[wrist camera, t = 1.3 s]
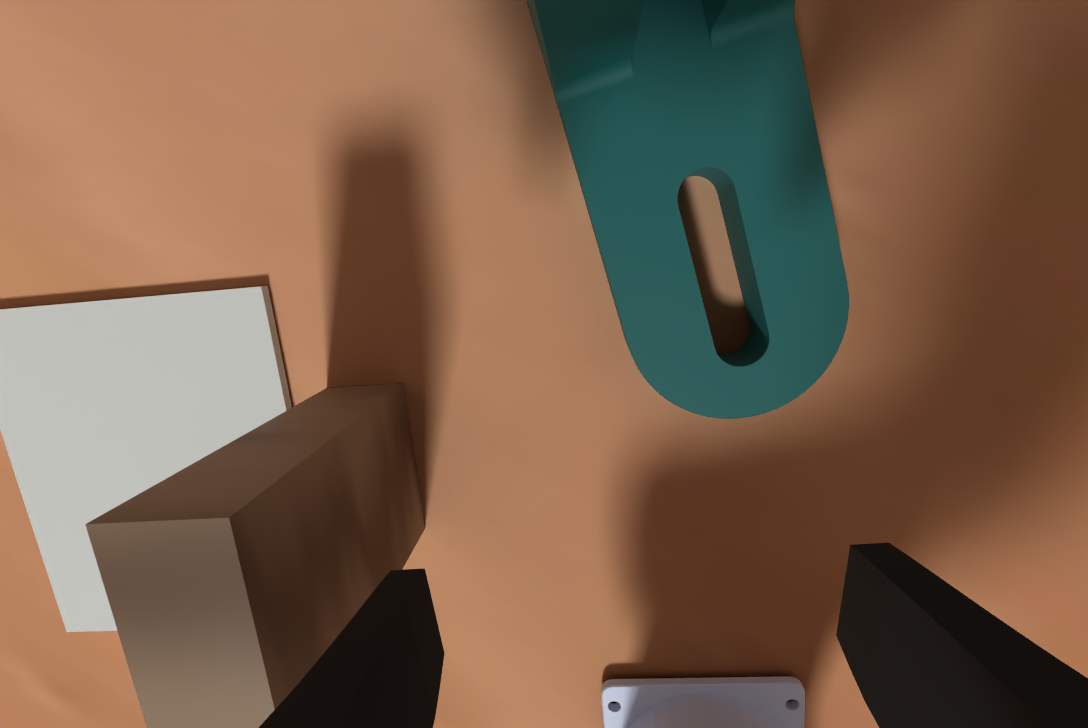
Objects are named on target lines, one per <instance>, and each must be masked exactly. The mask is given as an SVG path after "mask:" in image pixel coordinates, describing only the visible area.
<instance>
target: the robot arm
mask: <svg viewBox="0 0 1088 728" xmlns="http://www.w3.org/2000/svg"><path fill="white" fill-rule="evenodd" d="M837 638H838V640H839V643H840V645H841V647H842V650H843V652H844V655H845V657H846V659H847V662H848V664H849V667H850V669H851V671H852V674H853V676H854V678H855V680H856V682H857V685H858V687H859V689H860V691H861V694H862V696H863V698H864V700H865V702H866V704H867V706H868V708H869V710H870V711H871V713H872V715H873V717H874V719H875V720H876V722H877V724H878V726H879V728H1088V678H1086V677H1085V676H1083V675H1082V674H1080V673H1079V672H1077V671H1075V670H1074V669H1072V668H1071V667H1069V666H1068V665H1066V664H1065V663H1063V662H1062V661H1060V660H1059V659H1057V658H1056V657H1054V656H1053V655H1051V654H1050V653H1048V652H1047V651H1045V650H1044V649H1042V648H1041V647H1039V646H1038V645H1036V644H1035V643H1033V642H1032V641H1030V640H1029V639H1027V638H1026V637H1024V636H1023V635H1022V634H1020V633H1019V632H1017V631H1016V630H1014V629H1013V628H1011V627H1010V626H1008V625H1007V624H1005V623H1004V622H1003V621H1001V620H1000V619H998V618H997V617H995V616H994V615H992V614H991V613H989V612H988V611H987V610H985V609H984V608H982V607H981V606H979V605H978V604H977V603H975V602H974V601H972V600H971V599H969V598H968V597H967V596H965V595H964V594H962V593H961V592H959V591H958V590H957V589H955V588H954V587H952V586H951V585H949V584H948V583H947V582H945V581H944V580H942V579H941V578H939V577H938V576H937V575H935V574H934V573H932V572H931V571H929V570H928V569H927V568H925V567H924V566H922V565H921V564H919V563H918V562H916V561H915V560H914V559H912V558H911V557H909V556H908V555H906V554H905V553H903V552H902V551H900V550H899V549H897V548H896V547H894V546H893V545H891V544H890V543H876V544H858V545H850V551H849V557H848V564H847V570H846V577H845V583H844V590H843V596H842V603H841V609H840V615H839V622H838V628H837ZM443 659H444V650H443V646H442V641H441V637H440V633H439V628H438V624H437V620H436V615H435V611H434V607H433V602H432V598H431V594H430V589H429V585H428V581H427V576H426V572H425V569H409V570H391V571H390V572H389V573H388V574H387V575H386V576H385V577H384V579H383V580H382V581H381V582H380V584H379V585H378V586H377V587H376V589H375V590H374V591H373V592H372V594H371V595H370V596H369V597H368V599H367V600H366V601H365V602H364V604H363V605H362V606H361V607H360V609H359V610H358V611H357V612H356V614H355V615H354V616H353V617H352V619H351V620H350V621H349V622H348V624H347V625H346V626H345V627H344V629H343V630H342V631H341V632H340V634H339V635H338V636H337V637H336V638H335V640H334V641H333V642H332V643H331V645H330V646H329V647H328V648H327V649H326V651H325V652H324V653H323V654H322V655H321V656H320V658H319V659H318V660H317V661H316V662H315V664H314V665H313V666H312V667H311V668H310V670H309V671H308V672H307V673H306V674H305V676H304V677H303V678H302V679H301V680H300V682H299V683H298V684H297V685H296V686H295V687H294V689H293V690H292V691H291V692H290V693H289V694H288V695H287V697H286V698H285V699H284V700H283V701H282V702H281V703H280V704H279V705H278V707H277V708H276V709H275V710H274V711H273V712H272V713H271V714H270V715H269V717H268V718H267V719H266V720H265V721H264V722H263V723H262V724H261V725H260V726H259V728H433V724H434V720H435V714H436V708H437V701H438V695H439V688H440V681H441V674H442V666H443ZM601 699H602V711H603V724H604V728H804V723H805V690H804V688H803V685H802V683H801V682H800V681H799V680H798V679H797V678H795V677H721V678H654V679H610V680H607V681H605V682H604V683H603V684H602V687H601ZM791 699H794V700H793V701H791V702H787V701H788V700H791ZM613 701H616V702H618V703H616V704H612V703H610V702H613Z"/></svg>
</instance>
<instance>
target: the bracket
mask: <svg viewBox="0 0 1088 728" xmlns="http://www.w3.org/2000/svg"><path fill="white" fill-rule="evenodd" d="M794 2H795V0H527V3H528V6H529V10H530V13H531V17H532V20H533V24H534V27H535V30H536V34H537V37H538V41H539V44H540V48H541V51H542V55H543V58H544V61H545V65H546V68H547V72H548V75H549V79H550V82H551V86H552V89H553V92H554V96H555V99H556V103H557V106H558V110H559V113H560V117H561V120H562V123H563V127H564V130H565V134H566V137H567V141H568V144H569V148H570V151H571V155H572V158H573V161H574V165H575V168H576V172H577V175H578V179H579V182H580V186H581V189H582V192H583V196H584V199H585V203H586V206H587V210H588V213H589V217H590V220H591V223H592V227H593V230H594V234H595V237H596V241H597V244H598V248H599V251H600V254H601V258H602V261H603V265H604V268H605V272H606V275H607V279H608V282H609V285H610V289H611V292H612V296H613V299H614V303H615V306H616V310H617V313H618V317H619V320H620V323H621V327H622V330H623V334H624V337H625V340H626V343H627V345H628V348H629V350H630V352H631V355H632V357H633V359H634V361H635V363H636V365H637V367H638V369H639V370H640V372H641V374H642V375H643V377H644V378H645V379H646V380H647V382H648V383H649V384H650V385H651V386H652V387H653V388H654V389H655V390H656V391H657V392H658V393H659V394H660V395H662V396H663V397H664V398H665V399H667V400H668V401H670V402H672V403H673V404H675V405H676V406H678V407H680V408H683V409H685V410H687V411H690V412H692V413H695V414H699V415H703V416H707V417H713V418H724V419H735V418H745V417H751V416H756V415H760V414H764V413H767V412H769V411H772V410H775V409H777V408H779V407H781V406H783V405H785V404H787V403H789V402H790V401H792V400H794V399H795V398H797V397H798V396H800V395H801V394H802V393H804V392H805V391H806V390H807V389H808V388H809V387H811V386H812V385H813V384H814V383H815V382H816V381H817V380H818V379H819V377H820V376H821V375H822V374H823V373H824V372H825V370H826V369H827V367H828V366H829V365H830V363H831V361H832V360H833V358H834V356H835V355H836V353H837V351H838V348H839V346H840V344H841V342H842V339H843V335H844V332H845V329H846V324H847V319H848V310H849V293H848V286H847V280H846V275H845V270H844V265H843V260H842V255H841V250H840V245H839V240H838V235H837V230H836V225H835V220H834V215H833V210H832V205H831V200H830V195H829V190H828V185H827V180H826V175H825V170H824V165H823V160H822V155H821V150H820V146H819V141H818V136H817V131H816V126H815V121H814V116H813V111H812V106H811V101H810V96H809V91H808V86H807V81H806V76H805V71H804V66H803V61H802V56H801V51H800V46H799V41H798V36H797V31H796V26H795V21H794ZM688 176H701V177H704V178H706V179H708V180H709V181H710V182H711V183H712V184H713V185H714V186H715V188H716V190H717V193H718V197H719V201H720V205H721V209H722V213H723V217H724V222H725V226H726V230H727V234H728V238H729V242H730V246H731V251H732V255H733V259H734V263H735V267H736V271H737V275H738V280H739V284H740V288H741V292H742V296H743V300H744V304H745V309H746V313H747V317H748V321H749V327H750V330H749V335H748V338H747V340H746V341H745V343H744V344H743V345H742V346H741V347H740V348H739V349H737V350H736V351H733V352H730V353H724V354H722V353H716V350H715V347H714V343H713V339H712V335H711V332H710V328H709V324H708V320H707V316H706V312H705V308H704V304H703V300H702V296H701V293H700V289H699V285H698V281H697V277H696V273H695V269H694V265H693V261H692V258H691V254H690V250H689V246H688V242H687V238H686V234H685V230H684V226H683V222H682V219H681V215H680V211H679V207H678V201H677V197H678V191H679V188H680V186H681V184H682V182H683V180H684V179H685V178H686V177H688Z"/></svg>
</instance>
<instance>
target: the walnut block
mask: <svg viewBox="0 0 1088 728" xmlns="http://www.w3.org/2000/svg"><path fill="white" fill-rule="evenodd" d="M85 525H86V528H87V532H88V535H89V538H90V542H91V545H92V548H93V551H94V555H95V558H96V561H97V565H98V568H99V571H100V575H101V578H102V581H103V584H104V588H105V591H106V594H107V598H108V601H109V604H110V607H111V611H112V614H113V617H114V621H115V624H116V627H117V630H118V634H119V637H120V640H121V644H122V647H123V650H124V654H125V657H126V660H127V663H128V667H129V670H130V673H131V677H132V680H133V683H134V686H135V690H136V693H137V696H138V700H139V703H140V706H141V710H142V713H143V716H144V719H145V723H146V726H147V728H259V726H260V725H261V724H262V723H263V722H264V721H265V720H266V719H267V718H268V717H269V715H270V714H271V713H272V712H273V711H274V710H275V709H276V708H277V707H278V705H279V704H280V703H281V702H282V701H283V700H284V699H285V698H286V697H287V695H288V694H289V693H290V692H291V691H292V690H293V689H294V687H295V686H296V685H297V684H298V683H299V682H300V680H301V679H302V678H303V677H304V676H305V674H306V673H307V672H308V671H309V670H310V668H311V667H312V666H313V665H314V664H315V662H316V661H317V660H318V659H319V658H320V656H321V655H322V654H323V653H324V652H325V651H326V649H327V648H328V647H329V646H330V645H331V643H332V642H333V641H334V640H335V638H336V637H337V636H338V635H339V634H340V632H341V631H342V630H343V629H344V627H345V626H346V625H347V624H348V622H349V621H350V620H351V619H352V617H353V616H354V615H355V614H356V612H357V611H358V610H359V609H360V607H361V606H362V605H363V604H364V602H365V601H366V600H367V599H368V597H369V596H370V595H371V594H372V592H373V591H374V590H375V589H376V587H377V586H378V585H379V584H380V582H381V581H382V580H383V579H384V577H385V576H386V575H387V574H388V573H389V572H390V571H391V570H402V569H403V567H404V565H405V563H406V561H407V560H408V558H409V556H410V554H411V552H412V551H413V549H414V547H415V545H416V544H417V542H418V540H419V538H420V536H421V535H422V533H423V531H424V529H425V523H424V516H423V510H422V503H421V496H420V490H419V483H418V477H417V470H416V463H415V457H414V450H413V443H412V437H411V430H410V424H409V417H408V410H407V404H406V397H405V390H404V384H403V383H394V384H379V385H365V386H350V387H335V388H326V389H324V390H323V391H321V392H319V393H317V394H315V395H314V396H312V397H310V398H308V399H307V400H305V401H303V402H301V403H299V404H298V405H296V406H294V407H292V408H291V409H289V410H287V411H285V412H284V413H282V414H280V415H278V416H276V417H275V418H273V419H271V420H269V421H268V422H266V423H264V424H262V425H260V426H259V427H257V428H255V429H253V430H252V431H250V432H248V433H246V434H244V435H243V436H241V437H239V438H237V439H236V440H234V441H232V442H230V443H229V444H227V445H225V446H223V447H221V448H220V449H218V450H216V451H214V452H213V453H211V454H209V455H207V456H205V457H204V458H202V459H200V460H198V461H197V462H195V463H193V464H191V465H189V466H188V467H186V468H184V469H182V470H181V471H179V472H177V473H175V474H174V475H172V476H170V477H168V478H166V479H165V480H163V481H161V482H159V483H158V484H156V485H154V486H152V487H150V488H149V489H147V490H145V491H143V492H142V493H140V494H138V495H136V496H134V497H133V498H131V499H129V500H127V501H126V502H124V503H122V504H120V505H119V506H117V507H115V508H113V509H111V510H110V511H108V512H106V513H104V514H103V515H101V516H99V517H97V518H95V519H94V520H92V521H90V522H88V523H87V524H85Z"/></svg>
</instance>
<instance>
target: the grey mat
mask: <svg viewBox="0 0 1088 728" xmlns="http://www.w3.org/2000/svg"><path fill="white" fill-rule="evenodd" d="M291 408H292V405H291V400H290V395H289V390H288V385H287V380H286V375H285V370H284V365H283V360H282V355H281V350H280V345H279V340H278V335H277V330H276V325H275V320H274V315H273V310H272V305H271V300H270V295H269V290H268V286H258V287H247V288H236V289H224V290H213V291H202V292H190V293H179V294H168V295H156V296H145V297H134V298H122V299H111V300H99V301H88V302H77V303H65V304H54V305H43V306H31V307H20V308H9V309H0V430H1V433H2V436H3V439H4V442H5V445H6V448H7V451H8V454H9V457H10V460H11V464H12V467H13V470H14V473H15V476H16V479H17V482H18V485H19V488H20V491H21V494H22V497H23V500H24V503H25V506H26V509H27V512H28V515H29V518H30V521H31V525H32V528H33V531H34V534H35V537H36V540H37V543H38V546H39V549H40V552H41V555H42V558H43V561H44V564H45V567H46V570H47V573H48V576H49V579H50V582H51V586H52V589H53V592H54V595H55V598H56V601H57V604H58V607H59V610H60V613H61V616H62V619H63V622H64V625H65V628H66V631H67V632H81V631H118V630H117V627H116V624H115V621H114V617H113V614H112V611H111V607H110V604H109V601H108V598H107V594H106V591H105V588H104V584H103V581H102V578H101V575H100V571H99V568H98V565H97V561H96V558H95V555H94V551H93V548H92V545H91V542H90V538H89V535H88V532H87V528H86V525H85V524H87V523H88V522H90V521H92V520H94V519H95V518H97V517H99V516H101V515H103V514H104V513H106V512H108V511H110V510H111V509H113V508H115V507H117V506H119V505H120V504H122V503H124V502H126V501H127V500H129V499H131V498H133V497H134V496H136V495H138V494H140V493H142V492H143V491H145V490H147V489H149V488H150V487H152V486H154V485H156V484H158V483H159V482H161V481H163V480H165V479H166V478H168V477H170V476H172V475H174V474H175V473H177V472H179V471H181V470H182V469H184V468H186V467H188V466H189V465H191V464H193V463H195V462H197V461H198V460H200V459H202V458H204V457H205V456H207V455H209V454H211V453H213V452H214V451H216V450H218V449H220V448H221V447H223V446H225V445H227V444H229V443H230V442H232V441H234V440H236V439H237V438H239V437H241V436H243V435H244V434H246V433H248V432H250V431H252V430H253V429H255V428H257V427H259V426H260V425H262V424H264V423H266V422H268V421H269V420H271V419H273V418H275V417H276V416H278V415H280V414H282V413H284V412H285V411H287V410H289V409H291Z"/></svg>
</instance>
